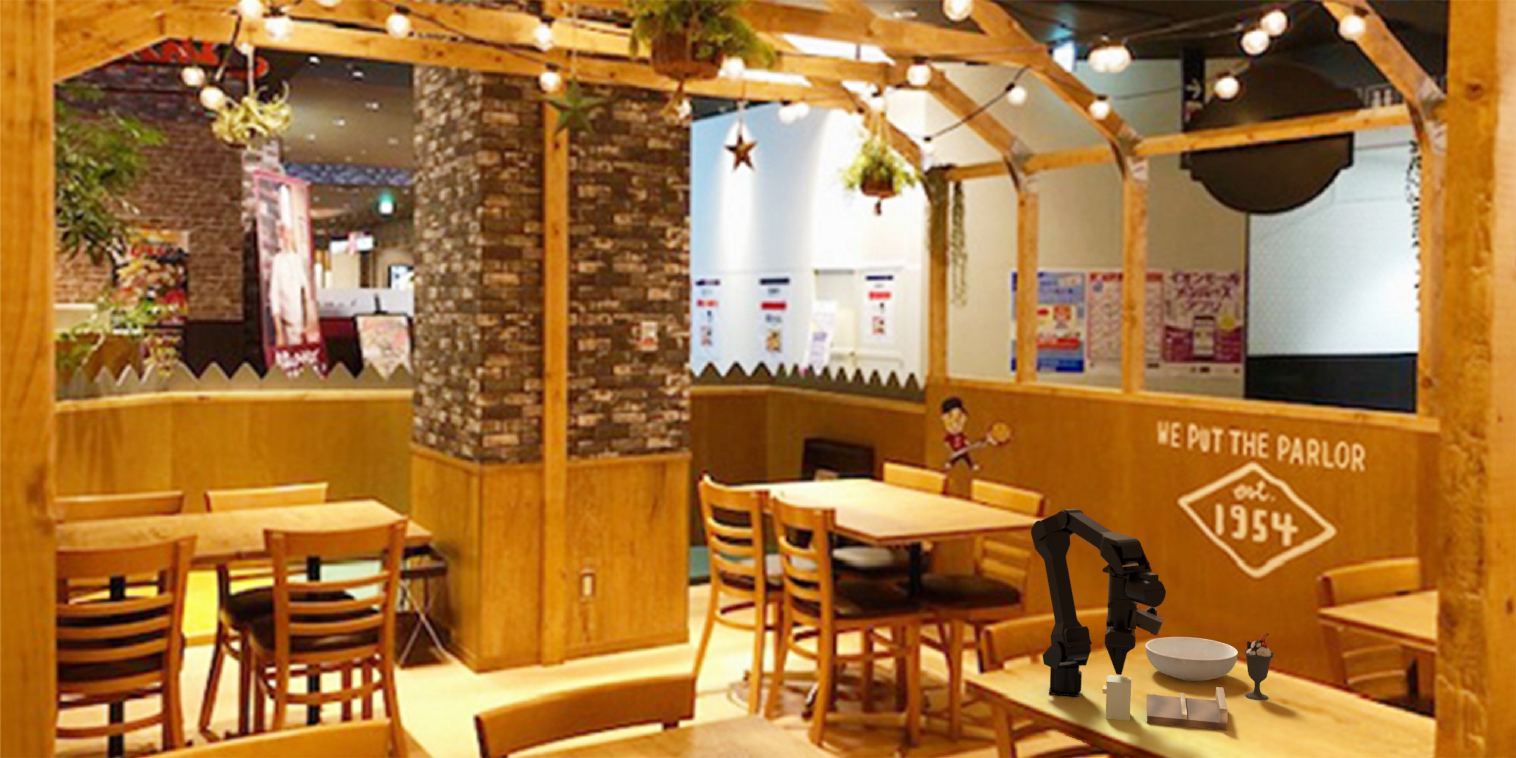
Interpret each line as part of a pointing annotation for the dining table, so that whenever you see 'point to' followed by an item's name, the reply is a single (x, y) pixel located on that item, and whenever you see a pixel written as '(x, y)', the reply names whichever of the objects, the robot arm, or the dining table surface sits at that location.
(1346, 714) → the dining table surface
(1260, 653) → the sundae
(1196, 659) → the serving bowl
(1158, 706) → the cleat board
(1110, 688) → the cabinet block
